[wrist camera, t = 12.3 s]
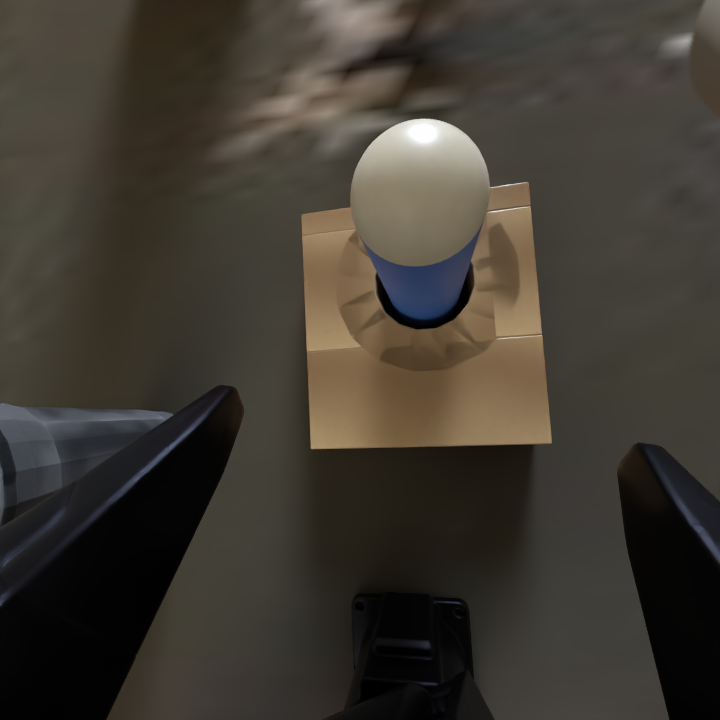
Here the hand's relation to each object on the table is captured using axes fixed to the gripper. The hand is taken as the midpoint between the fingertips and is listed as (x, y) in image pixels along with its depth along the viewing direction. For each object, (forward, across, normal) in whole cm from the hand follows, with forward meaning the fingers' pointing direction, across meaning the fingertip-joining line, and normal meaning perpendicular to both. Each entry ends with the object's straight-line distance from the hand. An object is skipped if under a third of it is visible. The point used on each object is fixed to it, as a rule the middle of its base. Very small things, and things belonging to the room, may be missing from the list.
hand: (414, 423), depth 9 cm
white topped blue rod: (+14, +1, +5) cm, 15 cm away
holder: (+12, +1, +7) cm, 14 cm away
